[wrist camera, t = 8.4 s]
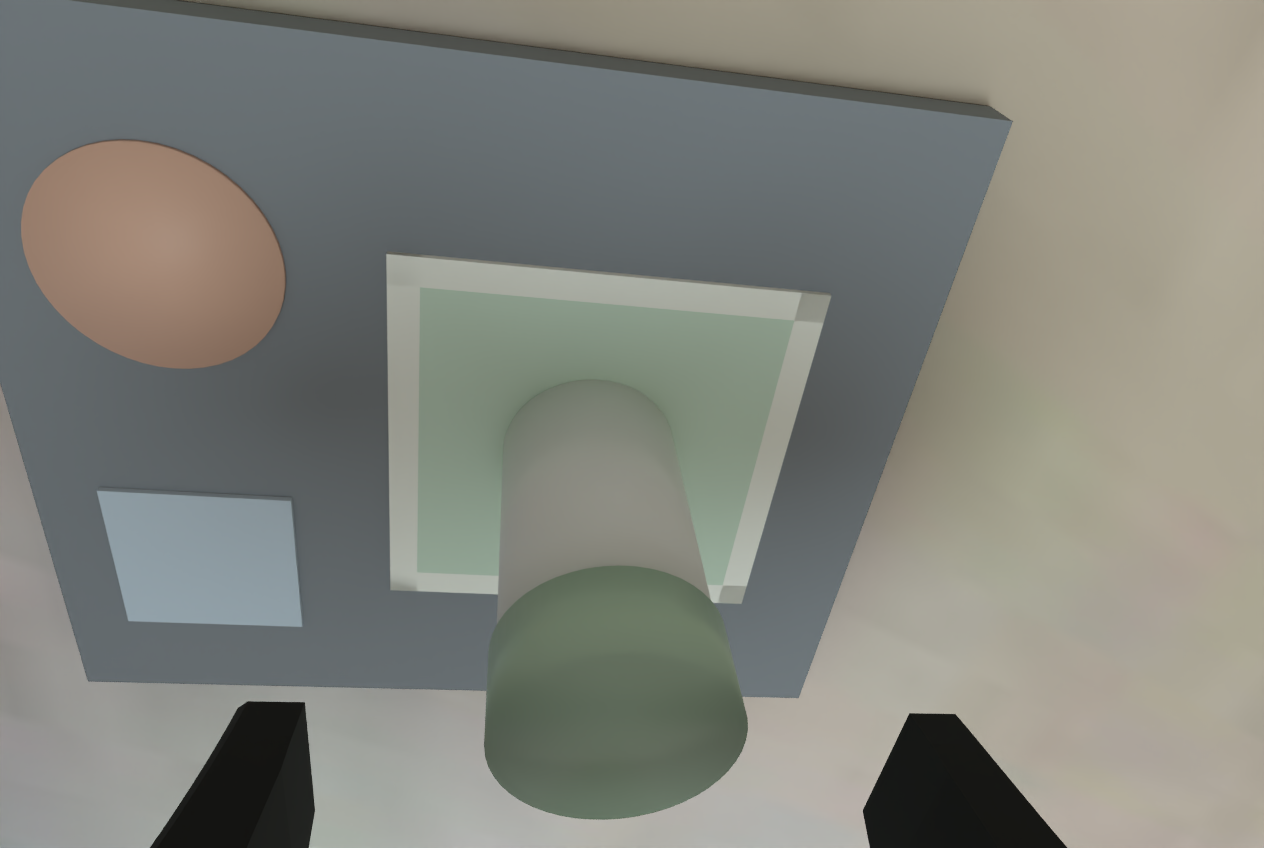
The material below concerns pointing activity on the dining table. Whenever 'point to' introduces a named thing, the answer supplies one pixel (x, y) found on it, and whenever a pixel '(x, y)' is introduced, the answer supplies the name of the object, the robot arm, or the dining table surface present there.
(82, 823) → the dining table surface
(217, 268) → the picture board
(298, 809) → the robot arm
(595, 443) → the pale green cylinder
